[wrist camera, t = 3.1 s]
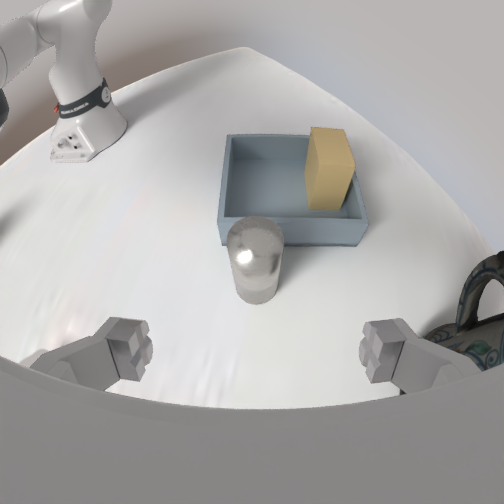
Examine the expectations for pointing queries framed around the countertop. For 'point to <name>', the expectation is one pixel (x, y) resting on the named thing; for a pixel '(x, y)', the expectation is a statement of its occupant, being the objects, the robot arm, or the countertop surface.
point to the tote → (283, 192)
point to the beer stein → (475, 320)
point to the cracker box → (328, 168)
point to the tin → (255, 257)
